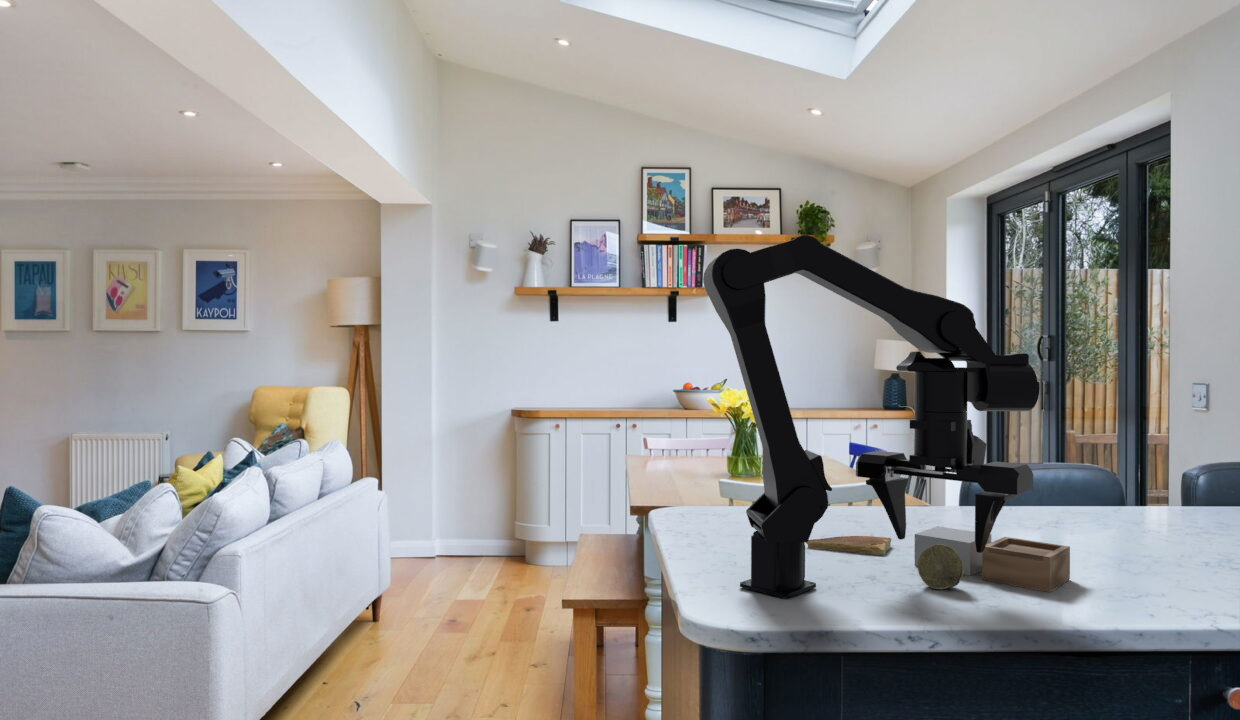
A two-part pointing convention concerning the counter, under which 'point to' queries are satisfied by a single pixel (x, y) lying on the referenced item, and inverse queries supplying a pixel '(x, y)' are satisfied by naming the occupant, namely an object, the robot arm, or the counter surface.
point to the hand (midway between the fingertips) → (939, 545)
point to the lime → (940, 567)
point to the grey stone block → (952, 545)
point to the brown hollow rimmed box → (1026, 563)
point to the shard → (853, 544)
